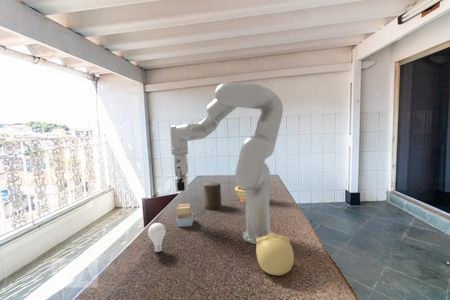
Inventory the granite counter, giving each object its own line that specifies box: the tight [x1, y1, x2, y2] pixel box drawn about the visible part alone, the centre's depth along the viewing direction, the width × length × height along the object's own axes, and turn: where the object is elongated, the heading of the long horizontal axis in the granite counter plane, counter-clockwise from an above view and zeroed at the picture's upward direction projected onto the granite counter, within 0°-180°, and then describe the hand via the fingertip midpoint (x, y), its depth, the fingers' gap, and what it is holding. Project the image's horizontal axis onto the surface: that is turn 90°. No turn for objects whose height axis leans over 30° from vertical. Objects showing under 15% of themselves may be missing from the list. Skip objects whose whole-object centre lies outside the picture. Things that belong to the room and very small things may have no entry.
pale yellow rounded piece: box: [255, 232, 295, 276], centre depth 73 cm, size 12×12×11 cm
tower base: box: [175, 212, 194, 228], centre depth 112 cm, size 7×7×4 cm
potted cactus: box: [234, 185, 246, 204], centre depth 141 cm, size 15×15×25 cm
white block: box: [174, 175, 189, 192], centre depth 110 cm, size 5×5×6 cm
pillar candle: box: [203, 181, 222, 211], centre depth 133 cm, size 10×10×15 cm
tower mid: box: [176, 203, 192, 219], centre depth 111 cm, size 6×6×5 cm
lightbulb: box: [147, 222, 166, 253], centre depth 87 cm, size 6×6×11 cm
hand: (182, 188), depth 110 cm, fingers closed on white block, 5 cm apart
